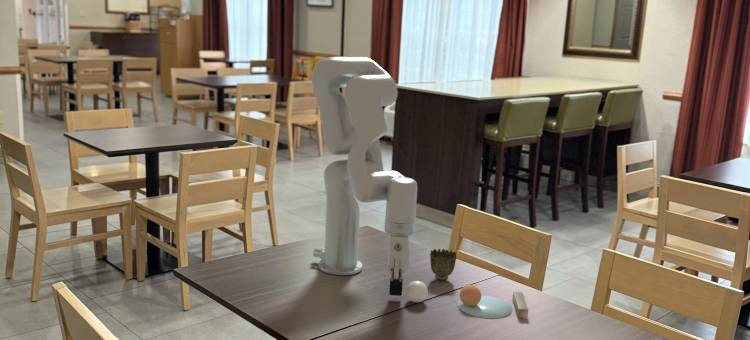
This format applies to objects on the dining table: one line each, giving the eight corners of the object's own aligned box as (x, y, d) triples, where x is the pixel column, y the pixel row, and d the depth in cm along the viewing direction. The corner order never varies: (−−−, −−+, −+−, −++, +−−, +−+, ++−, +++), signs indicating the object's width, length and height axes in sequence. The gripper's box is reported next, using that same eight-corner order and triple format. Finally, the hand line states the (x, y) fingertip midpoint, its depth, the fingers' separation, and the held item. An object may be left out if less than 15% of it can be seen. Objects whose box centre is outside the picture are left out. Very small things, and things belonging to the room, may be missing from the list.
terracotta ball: (483, 286, 174) (486, 306, 175) (474, 279, 179) (476, 299, 180) (464, 291, 173) (466, 311, 174) (455, 284, 178) (457, 304, 179)
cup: (453, 286, 189) (455, 258, 188) (426, 282, 191) (428, 255, 189) (455, 276, 196) (458, 250, 195) (430, 273, 198) (432, 247, 196)
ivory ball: (427, 281, 174) (432, 301, 176) (421, 275, 180) (425, 294, 181) (407, 288, 173) (412, 308, 174) (401, 281, 179) (406, 301, 180)
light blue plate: (449, 310, 174) (449, 309, 174) (467, 291, 186) (467, 291, 186) (503, 323, 168) (503, 322, 168) (518, 303, 180) (518, 302, 180)
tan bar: (517, 318, 171) (518, 308, 170) (512, 300, 182) (513, 291, 181) (527, 318, 171) (528, 309, 170) (521, 301, 182) (522, 292, 181)
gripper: (414, 236, 166) (409, 307, 170) (415, 219, 181) (410, 284, 185) (383, 234, 167) (379, 304, 171) (386, 216, 181) (382, 282, 185)
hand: (395, 294), depth 178 cm, fingers closed
